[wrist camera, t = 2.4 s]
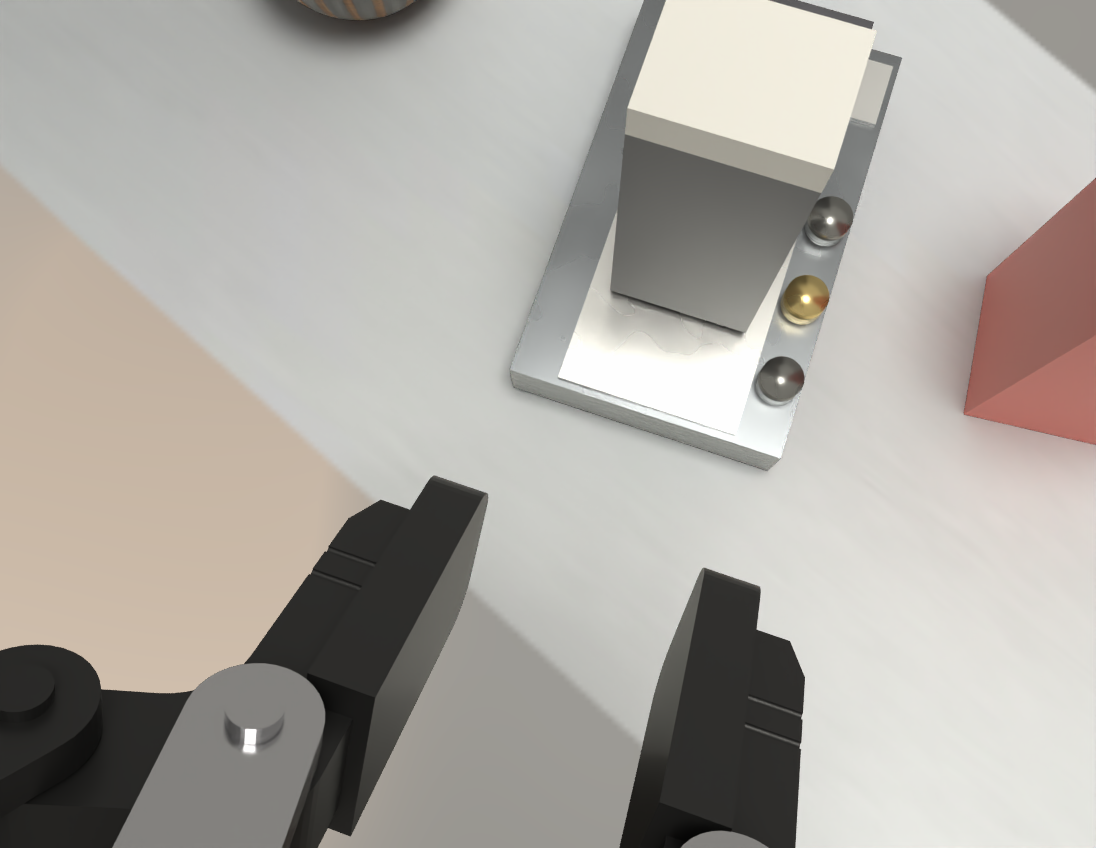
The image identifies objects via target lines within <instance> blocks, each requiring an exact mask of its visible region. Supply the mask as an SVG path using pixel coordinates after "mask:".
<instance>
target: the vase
mask: <svg viewBox="0 0 1096 848" xmlns="http://www.w3.org/2000/svg"><path fill="white" fill-rule="evenodd" d="M296 1H298V2H300V3H301V4H303V5H305V6H307V7H308V8H310V9H312V10H314V11H316V12H318V13H321V14H324V15H327V16H330V17H334V18H339V19H347V20H368V19H375V18H380V17H384V16H387V15H390V14H393V13H395V12H398V11H400V10H402V9H404V8H405V7H407V6H409V5H410V4H412V3H413V2H414V1H416V0H296Z"/></svg>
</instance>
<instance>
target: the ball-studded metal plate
mask: <svg viewBox="0 0 1096 848" xmlns="http://www.w3.org/2000/svg"><path fill="white" fill-rule="evenodd" d="M769 1H773V2H777V3H780V4H784V5H787V6H791V7H794V8H798V9H801V10H805V11H808V12H812V13H815V14H819V15H822V16H826V17H829V18H833V19H837V20H840V21H844V22H847V23H851V24H854V25H858V26H861V27H865V28H868V29H872V26H873V23H874V22H872V21H869V20H865V19H862V18H858V17H854V16H851V15H847V14H844V13H840V12H837V11H833V10H830V9H826V8H823V7H819V6H816V5H812V4H808V3H805V2H801V1H798V0H769ZM665 2H666V0H644V2H643V5H642V7H641V10H640V13H639V16H638V18H637V21H636V24H635V27H634V29H633V32H632V35H631V38H630V40H629V43H628V46H627V49H626V51H625V54H624V57H623V60H622V62H621V65H620V68H619V71H618V73H617V76H616V79H615V82H614V84H613V87H612V90H611V92H610V95H609V98H608V101H607V103H606V106H605V109H604V112H603V114H602V117H601V120H600V123H599V125H598V128H597V131H596V134H595V136H594V139H593V142H592V145H591V147H590V150H589V153H588V156H587V158H586V161H585V164H584V167H583V169H582V172H581V175H580V178H579V180H578V183H577V186H576V189H575V191H574V194H573V197H572V200H571V202H570V205H569V208H568V211H567V213H566V216H565V219H564V222H563V224H562V227H561V230H560V232H559V235H558V238H557V241H556V243H555V246H554V249H553V252H552V254H551V257H550V260H549V263H548V265H547V268H546V271H545V274H544V276H543V279H542V282H541V285H540V287H539V290H538V293H537V296H536V298H535V301H534V304H533V307H532V309H531V312H530V315H529V318H528V320H527V323H526V326H525V329H524V331H523V334H522V337H521V340H520V342H519V345H518V348H517V351H516V353H515V356H514V359H513V361H512V364H511V367H510V374H511V378H512V382H513V386H514V388H517V389H520V390H524V391H527V392H530V393H533V394H536V395H539V396H542V397H545V398H548V399H551V400H554V401H557V402H560V403H563V404H566V405H569V406H572V407H575V408H578V409H581V410H584V411H587V412H590V413H593V414H597V415H600V416H603V417H606V418H609V419H612V420H615V421H618V422H621V423H624V424H627V425H630V426H633V427H636V428H639V429H642V430H645V431H648V432H651V433H654V434H657V435H660V436H663V437H666V438H670V439H673V440H676V441H679V442H682V443H685V444H688V445H691V446H694V447H697V448H700V449H703V450H706V451H709V452H712V453H715V454H718V455H721V456H724V457H727V458H730V459H733V460H736V461H739V462H742V463H746V464H749V465H752V466H755V467H758V468H761V469H764V470H767V471H768V470H769V469H770V468H771V467H772V466H773V465H774V464H776V463H777V462H778V461H779V460H780V459H781V456H782V453H783V450H784V447H785V443H786V440H787V437H788V433H789V430H790V427H791V423H792V420H793V417H794V413H795V410H796V407H797V404H798V400H799V397H800V394H801V390H802V387H803V384H804V380H805V377H806V374H807V370H808V367H809V364H810V361H811V357H812V354H813V351H814V347H815V344H816V341H817V337H818V334H819V331H820V327H821V324H822V321H823V318H824V314H825V311H826V308H827V304H828V302H829V298H830V294H831V291H832V288H833V284H834V281H835V278H836V274H837V271H838V268H839V265H840V261H841V258H842V255H843V251H844V248H845V245H846V241H847V238H848V235H849V231H850V228H851V225H852V222H853V218H854V215H855V212H856V208H857V205H858V202H859V198H860V195H861V192H862V188H863V185H864V182H865V179H866V175H867V172H868V169H869V165H870V162H871V159H872V155H873V152H874V149H875V145H876V142H877V139H878V136H879V132H880V129H881V126H882V122H883V119H884V116H885V112H886V109H887V106H888V102H889V99H890V96H891V93H892V89H893V86H894V83H895V79H896V76H897V73H898V69H899V66H900V63H901V59H902V58H901V57H897V56H894V55H890V54H887V53H883V52H880V51H876V50H873V49H871V52H870V55H869V59H868V62H867V65H866V68H865V71H864V75H863V78H862V81H861V84H860V88H859V91H858V94H857V97H856V101H855V104H854V107H853V110H852V113H851V117H850V120H849V123H848V126H847V130H846V133H845V136H844V139H843V143H842V146H841V149H840V152H839V155H838V159H837V162H836V165H835V168H834V171H833V173H832V174H831V176H830V178H829V180H828V182H827V184H826V185H825V187H824V189H823V191H822V193H821V195H820V197H819V198H818V200H817V202H816V204H815V206H814V208H813V210H812V211H811V213H810V215H809V217H808V219H807V221H806V222H805V224H804V226H803V228H802V230H801V232H800V234H799V235H798V237H797V239H796V241H795V243H794V245H793V246H792V248H791V250H790V252H789V254H788V256H787V258H786V259H785V261H784V263H783V265H782V267H781V269H780V271H779V272H778V274H777V276H776V278H775V280H774V282H773V283H772V285H771V287H770V289H769V291H768V293H767V295H766V296H765V298H764V300H763V302H762V304H761V306H760V308H759V309H758V311H757V313H756V315H755V317H754V319H753V320H752V322H751V324H750V326H749V328H748V330H747V332H746V333H744V332H741V331H738V330H735V329H731V328H728V327H725V326H722V325H719V324H716V323H713V322H709V321H706V320H703V319H700V318H697V317H694V316H690V315H687V314H684V313H681V312H678V311H675V310H671V309H668V308H665V307H662V306H659V305H656V304H652V303H649V302H646V301H643V300H640V299H637V298H633V297H630V296H627V295H624V294H621V293H618V292H614V291H611V290H610V285H611V275H612V264H613V254H614V243H615V233H616V222H617V212H618V201H619V190H620V180H621V169H622V159H623V148H624V138H625V127H626V117H627V107H628V105H629V102H630V99H631V96H632V94H633V91H634V88H635V85H636V82H637V80H638V77H639V74H640V71H641V69H642V66H643V63H644V60H645V57H646V55H647V52H648V49H649V46H650V43H651V41H652V38H653V35H654V32H655V30H656V27H657V24H658V21H659V18H660V16H661V13H662V10H663V7H664V5H665Z"/></svg>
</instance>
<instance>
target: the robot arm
mask: <svg viewBox="0 0 1096 848" xmlns="http://www.w3.org/2000/svg"><path fill="white" fill-rule="evenodd" d="M487 502H488V494H487V493H484V492H481V491H479V490H476V489H473V488H470V487H467V486H464V485H461V484H458V483H455V482H452V481H449V480H446V479H443V478H440V477H437V476H432V477H431V478H430V480H429V481H428V482H427V484H426V486H425V487H424V489H423V490H422V492H421V494H420V495H419V497H418V498H417V500H416V501H415V503H414V505H413V506H412V508H411V509H410V510H409V509H406V508H403V507H400V506H397V505H394V504H392V503H389V502H386V501H383V500H380V501H378V502H376V503H374V504H373V505H371V506H369V507H368V508H366V509H364V510H362V511H361V512H359V513H357V514H355V515H354V516H352V517H351V518H348V520H347V521H346V523H345V524H344V526H343V527H342V528H341V530H340V531H339V533H338V534H337V535H336V537H335V538H334V540H333V541H332V542H331V544H330V545H329V548H328V551H327V552H324V554H323V555H322V556H321V558H320V559H319V561H318V562H317V563H316V565H315V566H314V568H313V570H312V573H311V575H310V574H309V575H308V576H307V578H306V579H305V580H304V582H303V583H302V585H301V586H300V587H299V589H298V590H297V592H296V593H295V594H294V596H293V597H292V599H291V600H290V602H289V603H288V604H287V606H286V607H285V608H284V610H283V611H282V613H281V614H280V616H279V617H278V618H277V620H276V621H275V623H274V624H273V626H272V627H271V628H270V630H269V631H268V632H267V634H266V635H265V637H264V638H263V639H262V641H261V642H260V644H259V645H258V647H257V648H256V650H255V651H254V652H253V654H252V655H251V656H250V658H249V659H248V660H247V661H246V662H245V663H244V664H242V665H237V666H233V667H229V668H227V669H224V670H222V671H220V672H217V673H216V674H214V675H212V676H211V677H209V678H207V679H206V680H205V681H203V682H202V683H201V684H200V685H199V686H198V687H197V688H196V689H195V690H193V691H188V692H181V693H171V694H170V693H145V692H131V691H117V690H102V689H101V686H100V680H99V677H98V675H97V673H96V671H95V670H94V668H93V667H92V666H91V664H90V663H88V661H86V660H85V659H84V658H83V657H81V656H80V655H78V654H76V653H74V652H72V651H69V650H67V649H64V648H60V647H55V646H50V645H24V646H18V647H12V648H8V649H5V650H1V651H0V848H318V846H319V844H320V842H321V840H322V838H323V836H324V834H325V832H326V830H327V828H330V829H332V830H335V831H338V832H340V833H343V834H346V835H348V836H351V835H352V832H353V830H354V828H355V826H356V824H357V822H358V820H359V818H360V816H361V814H362V812H363V810H364V808H365V806H366V804H367V802H368V799H369V798H370V796H371V794H372V791H373V790H374V787H375V785H376V783H377V781H378V779H379V777H380V775H381V773H382V771H383V769H384V767H385V765H386V763H387V761H388V759H389V757H390V755H391V753H392V751H393V749H394V747H395V745H396V742H397V740H398V738H399V736H400V734H401V732H402V730H403V728H404V726H405V724H406V722H407V720H408V718H409V716H410V714H411V712H412V710H413V708H414V706H415V704H416V702H417V700H418V697H419V695H420V693H421V691H422V689H423V687H424V685H425V683H426V681H427V679H428V677H429V675H430V673H431V671H432V669H433V667H434V665H435V663H436V661H437V659H438V657H439V654H440V652H441V651H442V648H443V646H444V644H445V642H446V640H447V638H448V636H449V634H450V632H451V630H452V628H453V626H454V623H455V621H456V619H457V616H458V614H459V611H460V608H461V606H462V603H463V600H464V597H465V594H466V591H467V588H468V584H469V580H470V576H471V572H472V567H473V563H474V559H475V555H476V550H477V546H478V542H479V538H480V533H481V529H482V525H483V520H484V516H485V512H486V507H487ZM760 593H761V590H760V587H759V586H756V585H753V584H750V583H748V582H745V581H742V580H739V579H736V578H733V577H730V576H727V575H724V574H721V573H718V572H715V571H712V570H709V569H706V568H703V569H702V570H701V572H700V574H699V576H698V579H697V581H696V583H695V586H694V588H693V591H692V593H691V596H690V598H689V601H688V603H687V606H686V608H685V611H684V613H683V615H682V618H681V620H680V623H679V625H678V628H677V630H676V633H675V635H674V638H673V640H672V643H671V645H670V648H669V650H668V653H667V655H666V658H665V661H664V664H663V667H662V670H661V673H660V676H659V679H658V683H657V686H656V690H655V693H654V697H653V701H652V706H651V710H650V715H649V719H648V724H647V728H646V732H645V737H644V741H643V746H642V750H641V755H640V759H639V763H638V768H637V772H636V777H635V782H634V786H633V790H632V795H631V799H630V803H629V808H628V812H627V817H626V822H625V826H624V830H623V834H622V839H621V843H620V848H795V843H796V825H797V808H798V790H799V772H800V755H801V749H799V747H800V743H801V737H802V720H801V717H802V714H803V702H804V685H805V677H804V674H803V672H802V669H801V667H800V665H799V662H798V660H797V657H796V655H795V652H794V650H793V648H792V645H791V643H790V641H788V640H785V639H782V638H779V637H776V636H773V635H770V634H767V633H765V632H762V631H759V630H756V628H757V619H758V611H759V603H760Z"/></svg>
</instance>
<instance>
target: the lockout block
mask: <svg viewBox="0 0 1096 848" xmlns="http://www.w3.org/2000/svg"><path fill="white" fill-rule="evenodd" d="M964 415H969V416H973V417H977V418H982V419H986V420H990V421H995V422H999V423H1003V424H1008V425H1012V426H1016V427H1021V428H1025V429H1029V430H1034V431H1038V432H1043V433H1047V434H1051V435H1056V436H1060V437H1064V438H1069V439H1073V440H1077V441H1082V442H1086V443H1090V444H1095V445H1096V178H1095V179H1094V180H1093V181H1092V182H1091V183H1090V184H1089V185H1087V186H1086V187H1085V188H1084V189H1083V190H1082V191H1081V192H1080V193H1079V194H1077V195H1076V196H1075V197H1074V198H1073V199H1072V200H1071V201H1070V202H1069V203H1067V204H1066V205H1065V206H1064V207H1063V208H1062V209H1061V210H1060V211H1059V212H1057V213H1056V214H1055V215H1054V216H1053V217H1052V218H1051V219H1050V220H1049V221H1047V222H1046V223H1045V224H1044V225H1043V226H1042V227H1041V228H1040V229H1039V230H1038V231H1036V232H1035V233H1034V234H1033V235H1032V236H1031V237H1030V238H1029V239H1028V240H1026V241H1025V242H1024V243H1023V244H1022V245H1021V246H1020V247H1019V248H1018V249H1016V250H1015V251H1014V252H1013V253H1012V254H1011V255H1010V256H1009V257H1008V258H1006V259H1005V260H1004V261H1003V262H1002V263H1001V264H1000V265H999V266H998V267H996V268H995V269H994V270H993V271H992V272H991V273H990V274H989V275H988V276H987V279H986V285H985V291H984V297H983V303H982V309H981V315H980V321H979V327H978V333H977V338H976V344H975V350H974V356H973V362H972V368H971V374H970V380H969V386H968V392H967V398H966V404H965V409H964Z"/></svg>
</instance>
